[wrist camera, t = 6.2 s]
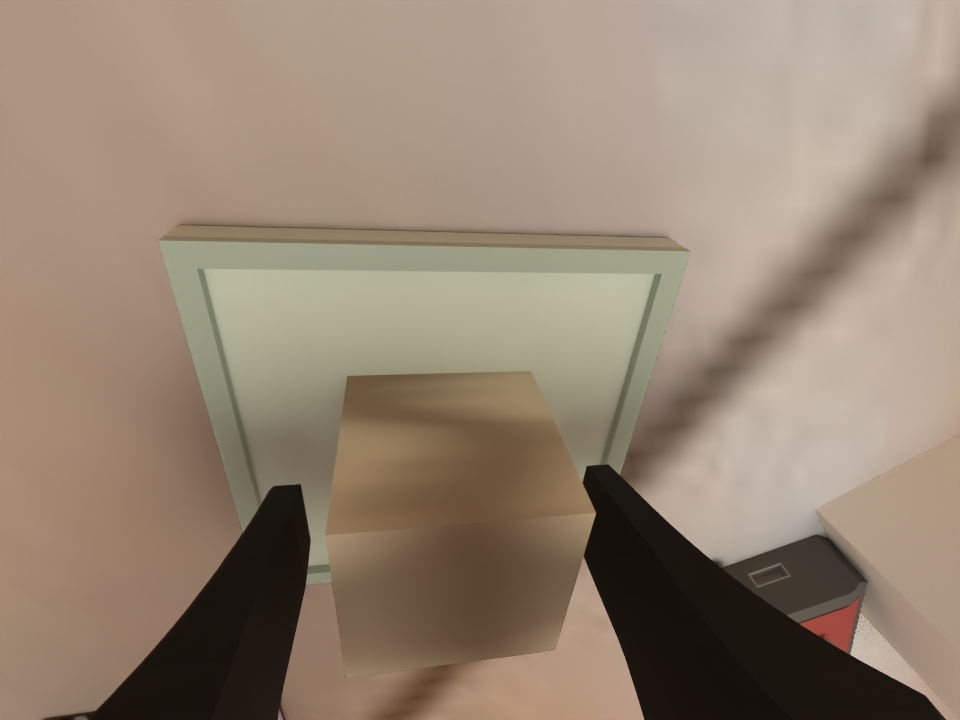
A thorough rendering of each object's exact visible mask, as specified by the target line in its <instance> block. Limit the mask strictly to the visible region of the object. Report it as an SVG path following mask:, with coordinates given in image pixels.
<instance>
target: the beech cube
mask: <svg viewBox="0 0 960 720" xmlns="http://www.w3.org/2000/svg"><path fill="white" fill-rule="evenodd" d="M595 515H596V512H595V509H594V507H593V505H592V503H591V501H590V499H589V496H588V494H587V492H586V490H585V488H584V485H583V483H582V481H581V479H580V477H579V475H578V472H577V470H576V468H575V466H574V464H573V461H572V459H571V457H570V455H569V453H568V451H567V448H566V446H565V444H564V442H563V440H562V437H561V435H560V433H559V431H558V429H557V427H556V424H555V422H554V420H553V418H552V416H551V414H550V411H549V409H548V407H547V405H546V403H545V400H544V398H543V396H542V394H541V392H540V390H539V387H538V385H537V383H536V381H535V379H534V376H533V374H532V372H531V371H515V372H477V373H438V374H400V375H362V376H347V382H346V389H345V396H344V403H343V410H342V418H341V425H340V432H339V439H338V446H337V453H336V460H335V467H334V474H333V481H332V489H331V496H330V503H329V510H328V517H327V524H326V531H325V540H326V546H327V553H328V559H329V566H330V573H331V579H332V586H333V593H334V599H335V606H336V612H337V619H338V626H339V632H340V639H341V646H342V652H343V659H344V666H345V672H346V678H353V677H361V676H368V675H376V674H383V673H390V672H398V671H405V670H413V669H420V668H427V667H435V666H442V665H450V664H457V663H464V662H472V661H479V660H487V659H494V658H502V657H509V656H516V655H524V654H531V653H539V652H546V651H553V650H555V649H556V646H557V642H558V639H559V636H560V632H561V629H562V626H563V622H564V619H565V616H566V612H567V609H568V606H569V602H570V599H571V596H572V592H573V589H574V585H575V582H576V579H577V575H578V572H579V569H580V565H581V562H582V559H583V555H584V552H585V549H586V545H587V542H588V539H589V535H590V532H591V529H592V525H593V522H594V519H595Z"/></svg>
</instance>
